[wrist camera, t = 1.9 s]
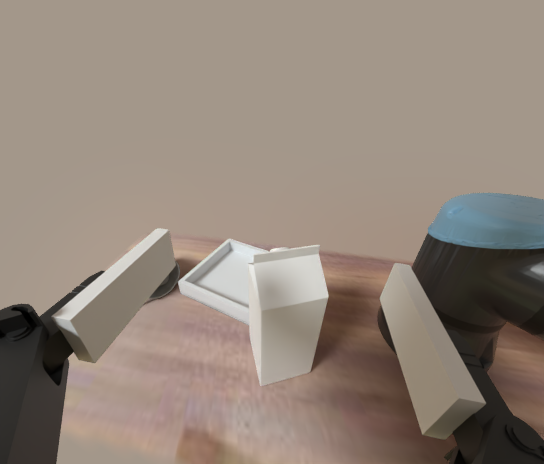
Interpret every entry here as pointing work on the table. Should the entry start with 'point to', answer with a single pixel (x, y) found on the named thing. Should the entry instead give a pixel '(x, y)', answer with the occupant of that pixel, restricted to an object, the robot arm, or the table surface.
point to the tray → (222, 280)
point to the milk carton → (285, 311)
